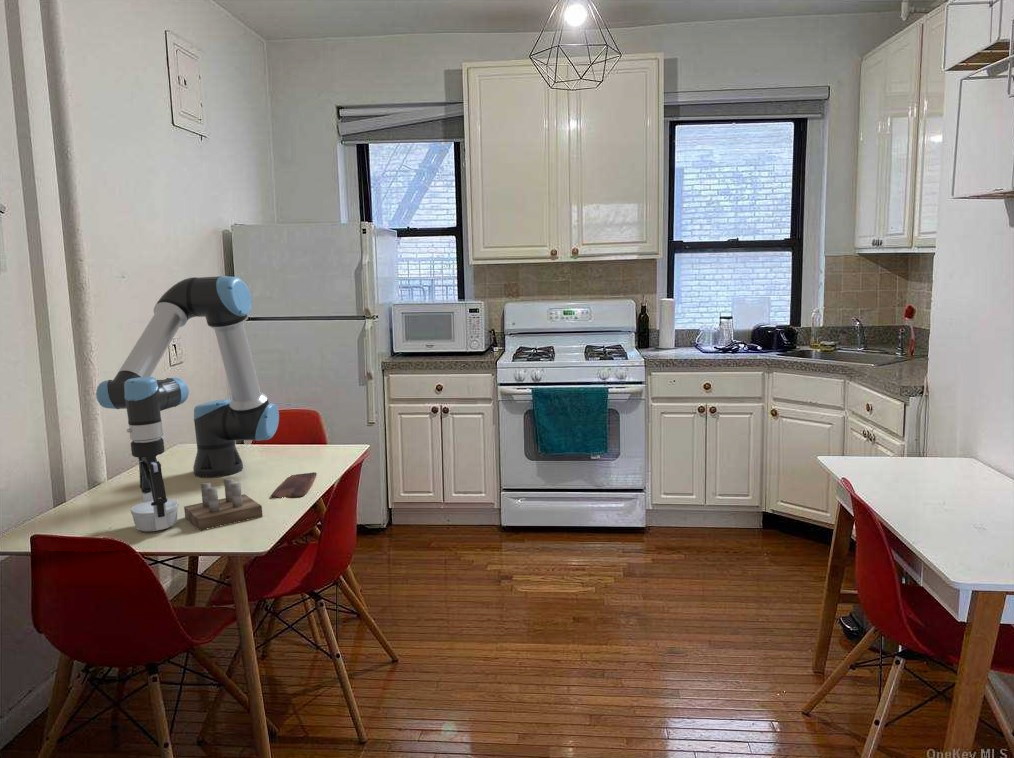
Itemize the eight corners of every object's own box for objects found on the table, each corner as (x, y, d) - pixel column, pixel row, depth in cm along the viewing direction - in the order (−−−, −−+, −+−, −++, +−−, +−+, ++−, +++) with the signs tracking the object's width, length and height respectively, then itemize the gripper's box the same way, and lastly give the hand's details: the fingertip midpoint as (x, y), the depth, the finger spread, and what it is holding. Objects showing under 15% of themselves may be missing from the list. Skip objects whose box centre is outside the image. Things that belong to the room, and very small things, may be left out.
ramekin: (163, 533, 190) (160, 513, 190) (122, 532, 192) (120, 512, 192) (189, 518, 201) (187, 499, 200) (150, 517, 203) (148, 498, 202)
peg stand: (185, 517, 204) (181, 484, 203) (245, 504, 214) (242, 473, 212) (199, 530, 193) (196, 496, 192) (262, 516, 203) (259, 483, 201)
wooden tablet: (289, 471, 244) (320, 466, 245) (290, 478, 245) (321, 472, 245) (268, 496, 218) (303, 490, 218) (269, 504, 218) (304, 497, 219)
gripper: (121, 434, 201) (131, 514, 204) (140, 450, 182) (150, 538, 185) (152, 429, 205) (161, 508, 208) (174, 444, 186) (183, 531, 189)
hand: (156, 522), depth 197 cm, fingers closed on ramekin, 11 cm apart
